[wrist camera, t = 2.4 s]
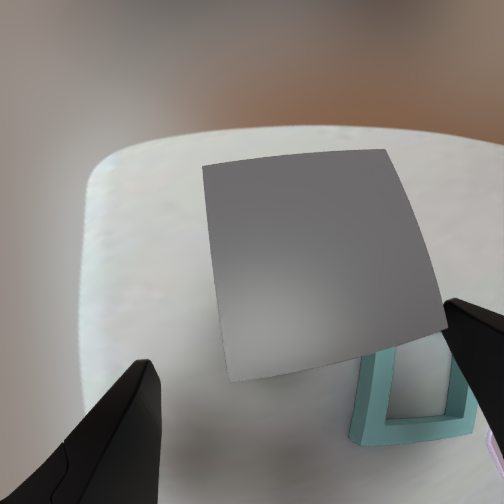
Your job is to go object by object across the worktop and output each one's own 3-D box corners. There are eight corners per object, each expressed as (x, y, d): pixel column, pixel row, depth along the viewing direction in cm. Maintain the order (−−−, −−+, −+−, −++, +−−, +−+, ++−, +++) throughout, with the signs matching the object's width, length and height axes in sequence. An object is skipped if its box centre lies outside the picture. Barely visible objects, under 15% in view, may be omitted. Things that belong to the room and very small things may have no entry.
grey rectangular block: (318, 354, 16) (448, 327, 5) (247, 367, 16) (228, 382, 4) (305, 286, 18) (385, 149, 6) (236, 297, 18) (202, 166, 6)
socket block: (453, 429, 14) (472, 433, 12) (348, 437, 14) (360, 446, 12) (465, 315, 17) (483, 309, 15) (366, 305, 17) (380, 297, 15)
